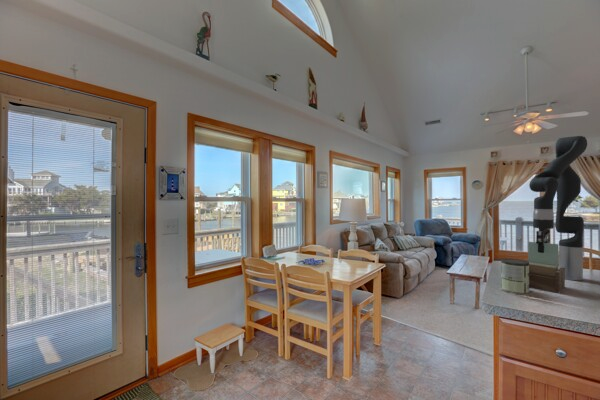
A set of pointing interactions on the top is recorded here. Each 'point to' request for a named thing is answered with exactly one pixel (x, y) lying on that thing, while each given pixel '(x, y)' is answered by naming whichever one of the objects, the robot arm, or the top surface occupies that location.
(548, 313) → the top surface
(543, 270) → the offcut front
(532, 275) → the rack
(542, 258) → the tall sheet
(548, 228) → the robot arm
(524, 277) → the coffee can
